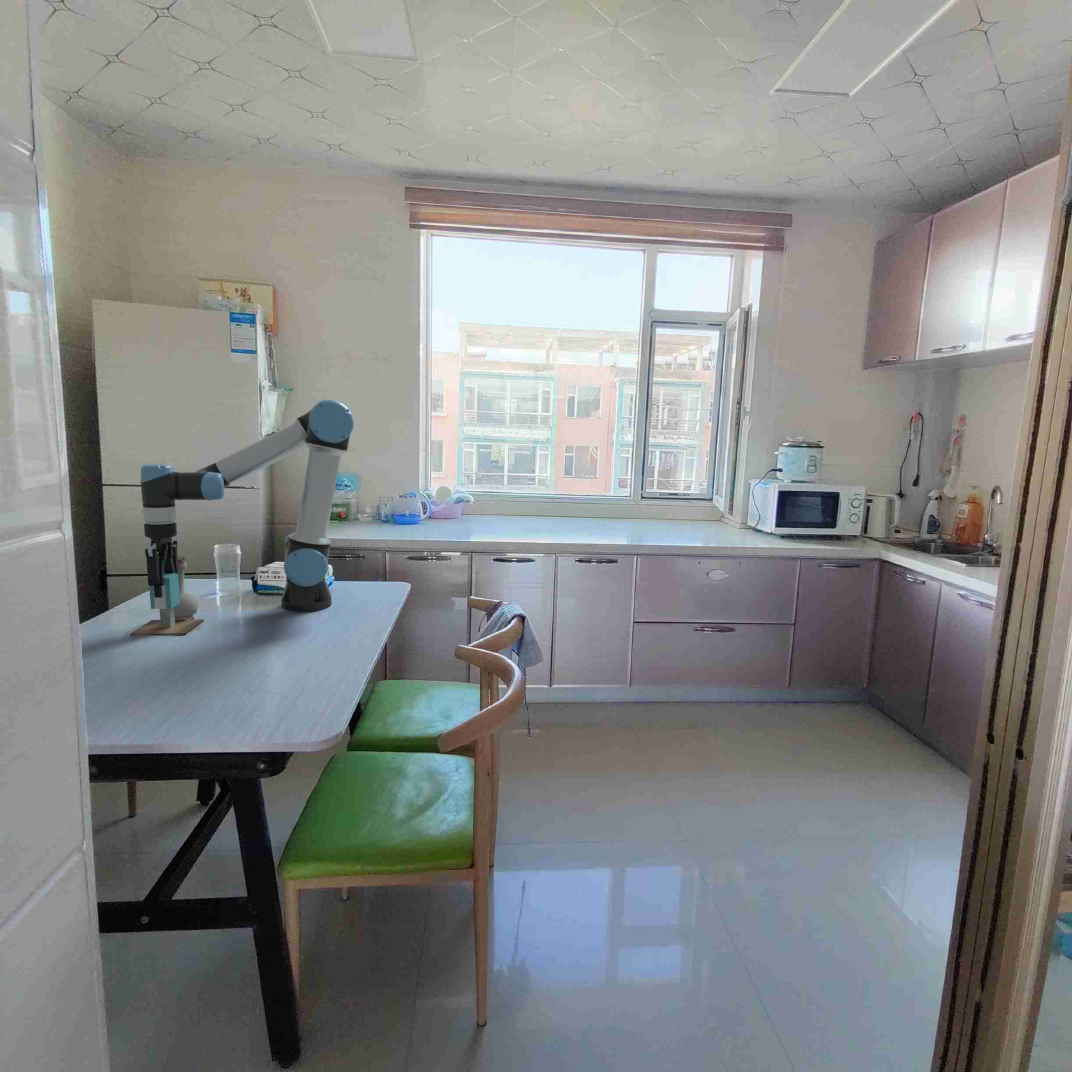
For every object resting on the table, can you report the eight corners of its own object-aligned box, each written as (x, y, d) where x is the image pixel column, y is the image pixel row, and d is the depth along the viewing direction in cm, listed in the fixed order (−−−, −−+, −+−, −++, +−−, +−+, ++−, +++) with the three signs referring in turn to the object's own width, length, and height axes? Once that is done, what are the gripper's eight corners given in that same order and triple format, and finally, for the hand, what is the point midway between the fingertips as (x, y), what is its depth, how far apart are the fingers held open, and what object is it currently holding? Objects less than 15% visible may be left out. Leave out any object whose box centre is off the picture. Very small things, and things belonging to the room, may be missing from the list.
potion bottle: (204, 615, 183) (203, 555, 182) (185, 621, 174) (183, 558, 173) (176, 614, 184) (175, 554, 182) (156, 620, 175) (154, 557, 173)
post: (175, 624, 172) (172, 593, 170) (170, 627, 169) (168, 596, 168) (165, 624, 172) (162, 593, 170) (160, 627, 169) (158, 596, 167)
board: (203, 621, 177) (203, 619, 177) (185, 635, 166) (185, 633, 165) (152, 621, 176) (151, 619, 175) (129, 635, 164) (129, 633, 164)
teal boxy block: (179, 603, 172) (177, 573, 171) (171, 608, 167) (169, 578, 166) (160, 603, 172) (158, 573, 170) (150, 608, 166) (148, 577, 165)
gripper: (161, 517, 174) (166, 596, 178) (127, 527, 156) (134, 615, 160) (189, 517, 175) (194, 596, 179) (158, 527, 157) (164, 615, 161)
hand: (165, 605), depth 169 cm, fingers closed on teal boxy block, 5 cm apart
